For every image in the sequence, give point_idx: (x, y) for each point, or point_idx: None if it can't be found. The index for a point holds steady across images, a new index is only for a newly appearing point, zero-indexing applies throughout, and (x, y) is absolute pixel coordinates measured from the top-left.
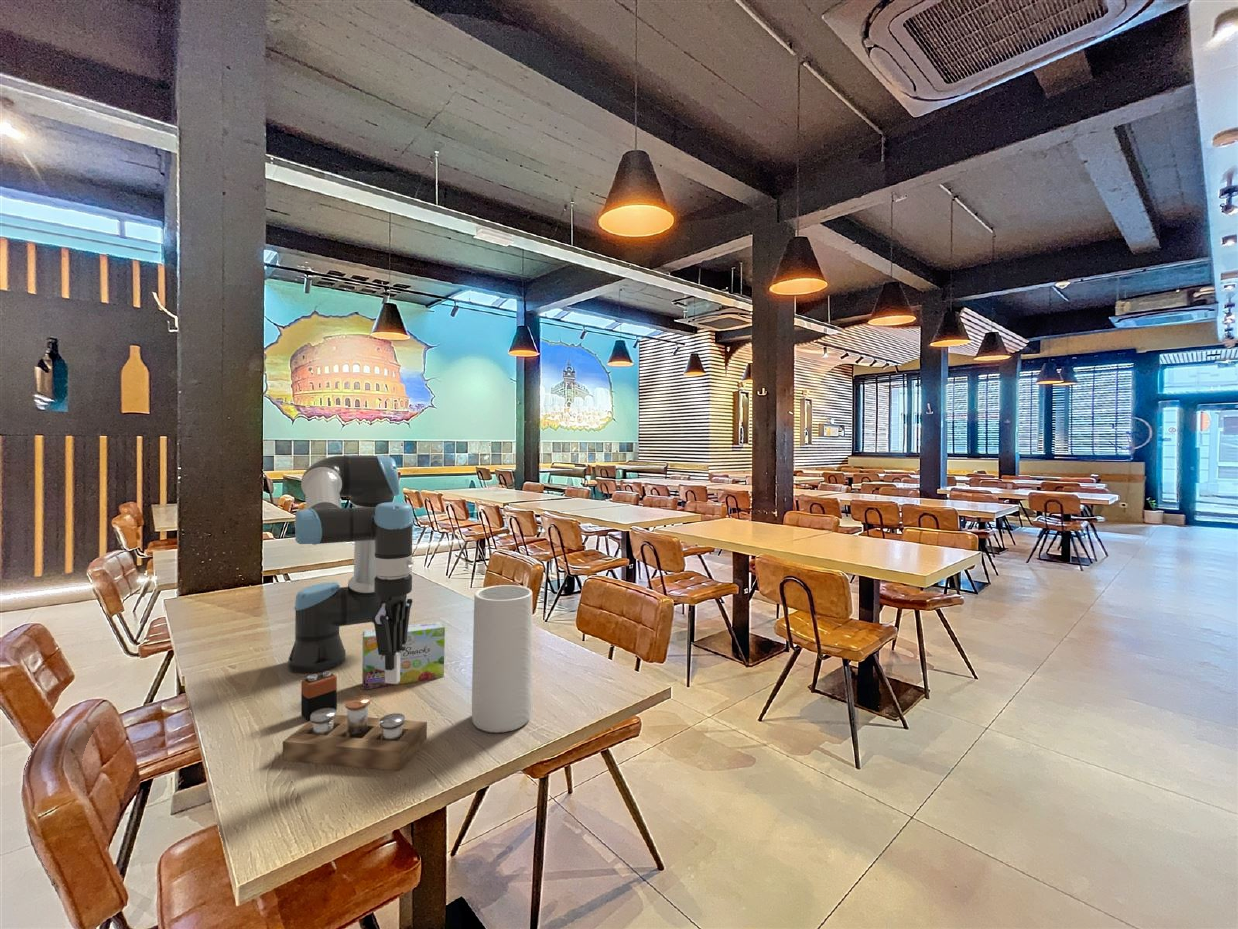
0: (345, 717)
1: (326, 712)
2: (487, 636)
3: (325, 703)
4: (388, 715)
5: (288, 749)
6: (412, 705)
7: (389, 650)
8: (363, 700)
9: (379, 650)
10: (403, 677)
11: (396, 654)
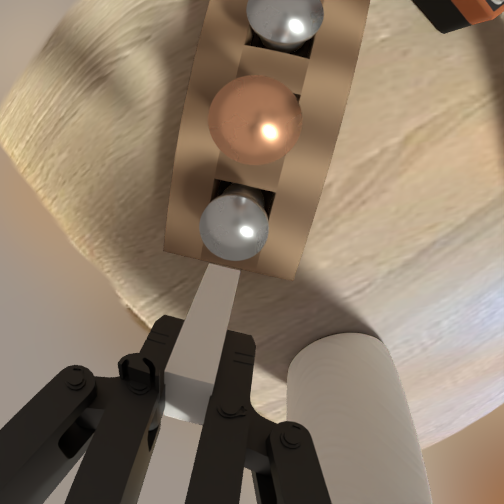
0: (345, 62)
1: (292, 16)
2: None
3: (436, 5)
4: (255, 213)
5: None
6: (447, 201)
7: (71, 429)
8: (248, 143)
9: (47, 393)
10: None
11: (164, 414)
